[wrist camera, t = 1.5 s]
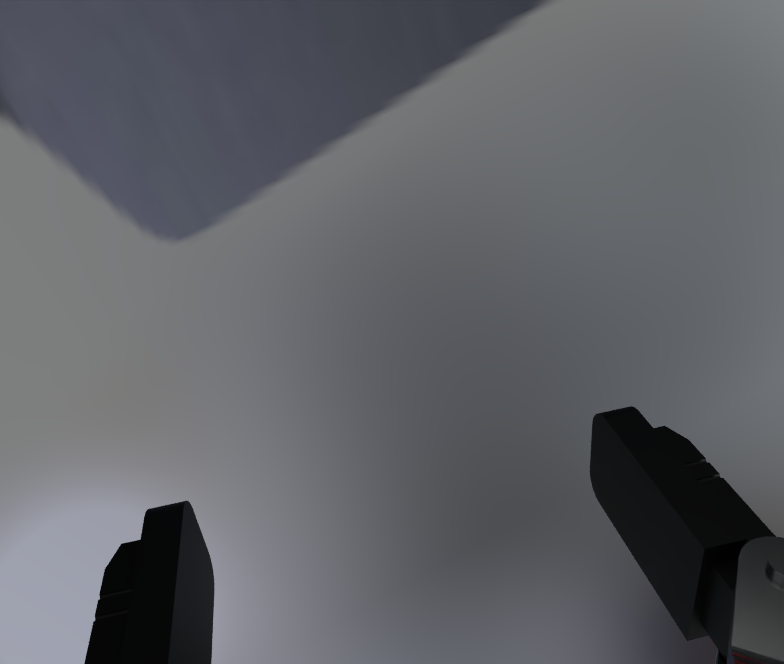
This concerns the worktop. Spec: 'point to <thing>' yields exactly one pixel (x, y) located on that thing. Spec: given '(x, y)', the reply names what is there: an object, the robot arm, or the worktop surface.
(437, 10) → the worktop surface
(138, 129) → the worktop surface
